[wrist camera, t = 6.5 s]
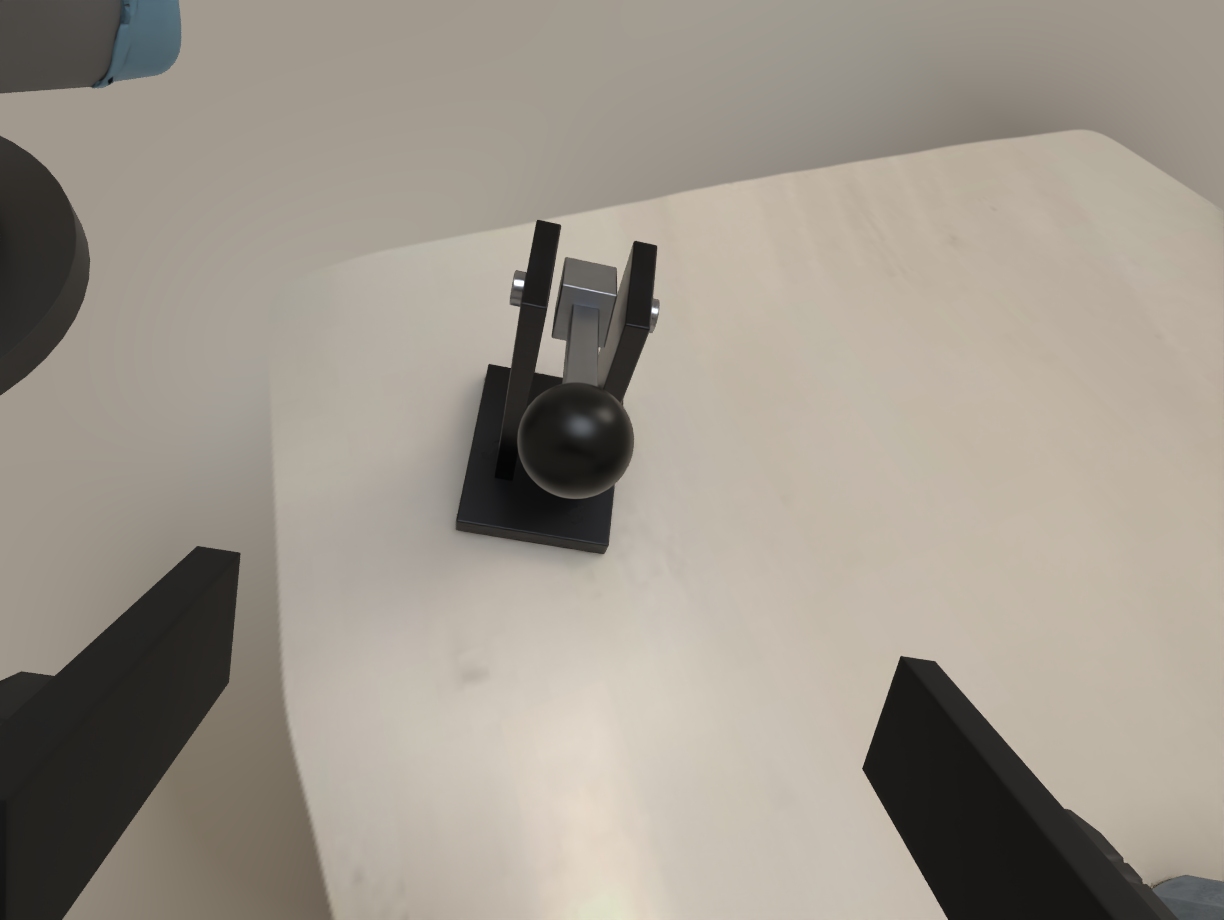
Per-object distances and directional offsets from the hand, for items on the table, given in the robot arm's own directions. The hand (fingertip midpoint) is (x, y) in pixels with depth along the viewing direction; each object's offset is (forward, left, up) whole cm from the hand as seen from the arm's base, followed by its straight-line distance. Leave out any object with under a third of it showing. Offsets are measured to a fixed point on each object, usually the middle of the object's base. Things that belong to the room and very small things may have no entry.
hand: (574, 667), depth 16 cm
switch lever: (0, +12, -9) cm, 15 cm away
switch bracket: (0, +17, -24) cm, 30 cm away
